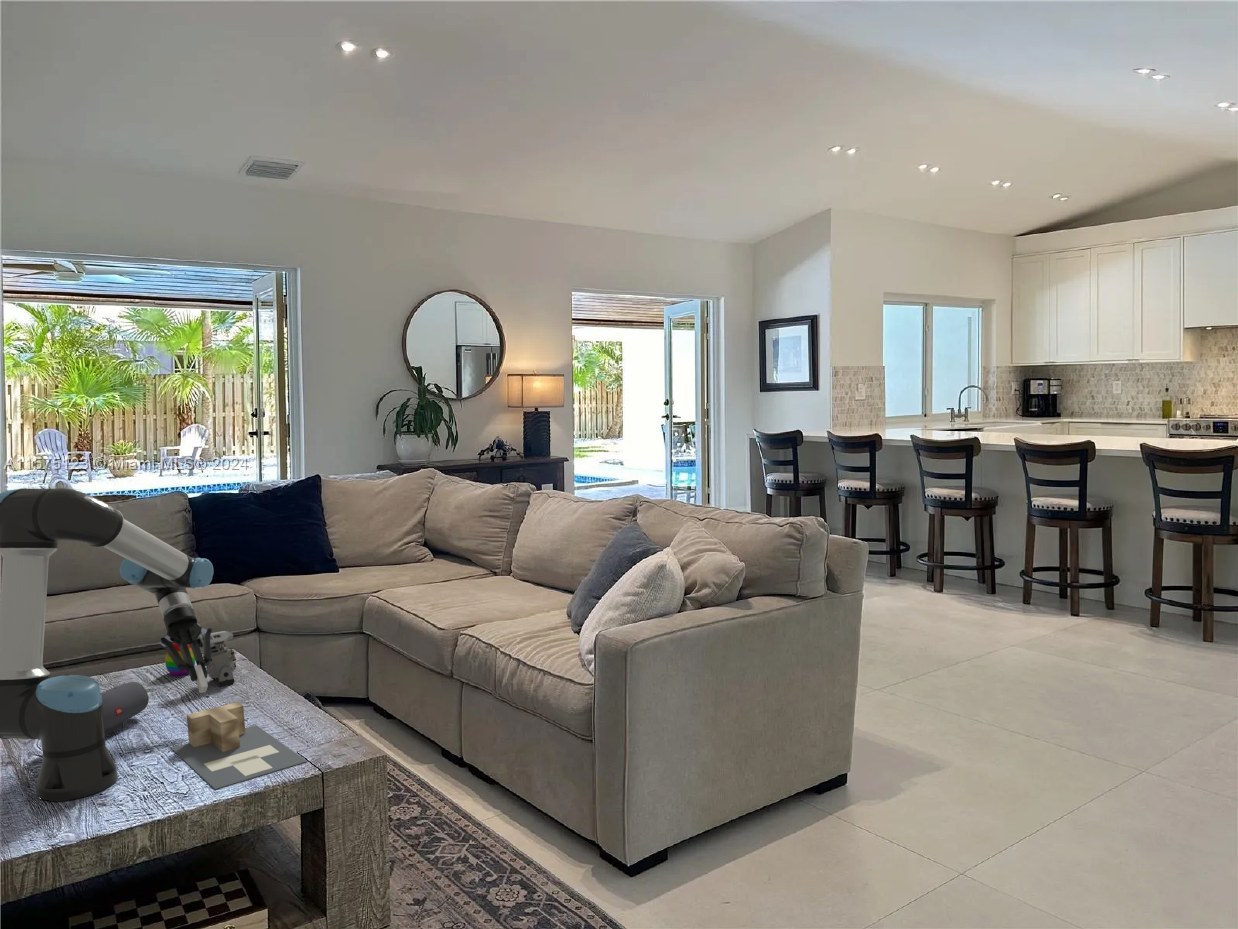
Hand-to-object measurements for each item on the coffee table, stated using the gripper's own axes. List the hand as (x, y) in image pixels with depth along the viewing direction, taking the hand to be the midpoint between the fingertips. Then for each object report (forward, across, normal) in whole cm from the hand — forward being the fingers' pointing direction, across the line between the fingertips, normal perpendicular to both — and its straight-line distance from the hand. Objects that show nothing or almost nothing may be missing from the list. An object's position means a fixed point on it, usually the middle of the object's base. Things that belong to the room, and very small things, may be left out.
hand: (203, 689), depth 233 cm
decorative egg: (-30, -10, -44) cm, 55 cm away
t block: (+18, +1, +5) cm, 18 cm away
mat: (+25, +1, +12) cm, 27 cm away
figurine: (-17, -13, -31) cm, 38 cm away
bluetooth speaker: (-3, +20, -17) cm, 26 cm away
